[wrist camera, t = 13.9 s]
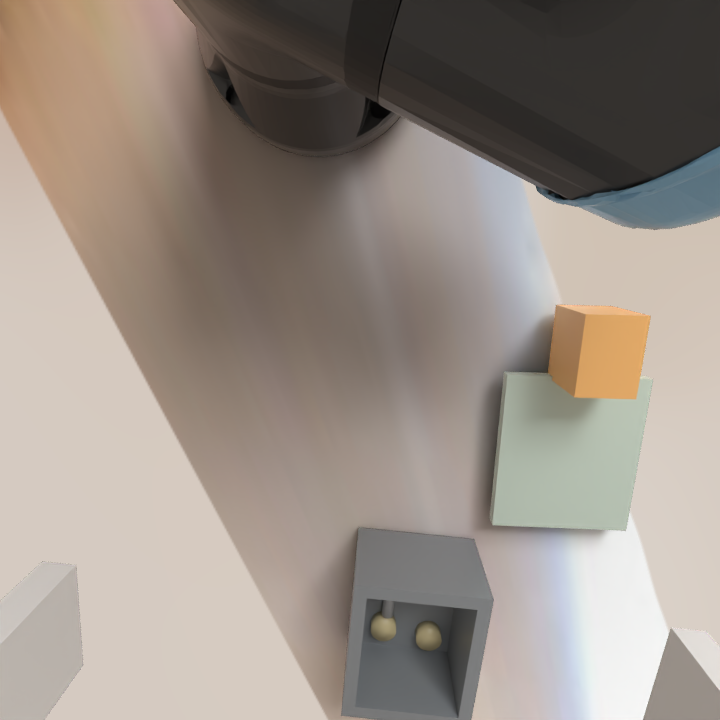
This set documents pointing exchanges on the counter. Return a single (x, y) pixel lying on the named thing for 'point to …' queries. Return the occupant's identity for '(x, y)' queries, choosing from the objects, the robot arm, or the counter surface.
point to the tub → (415, 627)
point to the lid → (574, 425)
